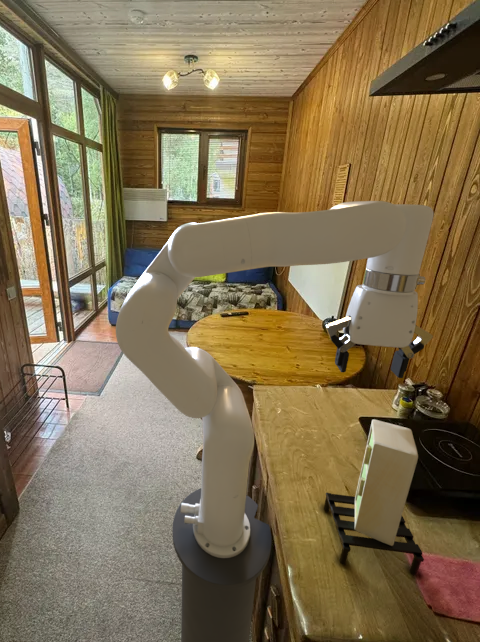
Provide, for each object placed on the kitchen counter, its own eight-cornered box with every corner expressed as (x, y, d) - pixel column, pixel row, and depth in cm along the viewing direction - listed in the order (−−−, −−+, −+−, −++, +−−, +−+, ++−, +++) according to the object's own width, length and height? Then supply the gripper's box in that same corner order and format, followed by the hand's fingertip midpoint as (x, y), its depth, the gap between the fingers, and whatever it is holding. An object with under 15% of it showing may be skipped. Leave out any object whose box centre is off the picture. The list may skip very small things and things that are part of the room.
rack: (340, 564, 59) (344, 546, 58) (323, 507, 70) (326, 490, 69) (418, 575, 58) (425, 557, 56) (387, 515, 69) (392, 498, 67)
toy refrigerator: (350, 497, 67) (368, 416, 61) (389, 512, 64) (412, 428, 58) (349, 529, 61) (370, 442, 54) (393, 547, 58) (420, 458, 51)
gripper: (431, 279, 54) (408, 366, 59) (328, 273, 56) (314, 357, 61) (460, 290, 47) (431, 387, 52) (341, 283, 49) (324, 377, 54)
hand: (368, 371), depth 57 cm, fingers open, 9 cm apart
